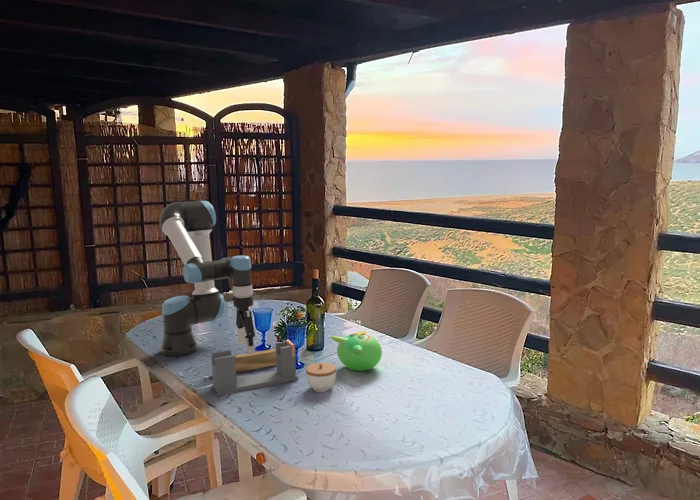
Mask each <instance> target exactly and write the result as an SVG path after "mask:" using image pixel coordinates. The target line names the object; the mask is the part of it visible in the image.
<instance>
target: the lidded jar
mask: <svg viewBox="0 0 700 500" xmlns="http://www.w3.org/2000/svg"><path fill="white" fill-rule="evenodd" d="M336 372H337V366H336V365H335V364H333V363H330V362H317V363H316V362H315V363H312V364H309V365H308V366H307V367H306V368H305V374H306V380H307V385H309V387H310V388H311V389H312V390H313V391H314V392H317V393H326V392H328V391H330V390H331V388H332V387H333V386H334V385H335V381H336V378H337V377H336V376H337V373H336Z"/></svg>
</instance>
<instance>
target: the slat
mask: <svg viewBox="0 0 700 500" xmlns="http://www.w3.org/2000/svg"><path fill="white" fill-rule="evenodd" d="M234 355H235V354H234ZM235 361H236V373H239V372H240V373H241V372H245V371H251V370H255V369H256V370H257V369H262V368H266V367H267V368H268V367H272V366H277V364H276V348H270V349H266V350H259V351H254V353H253V354H247V353H241V354H236V355H235Z"/></svg>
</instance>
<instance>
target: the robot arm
mask: <svg viewBox="0 0 700 500" xmlns="http://www.w3.org/2000/svg"><path fill="white" fill-rule="evenodd" d="M158 222H159V228H160V229H161V231H162V233H163V234H164V235H165V236H167V237H168V239H169V240H170V242H171V243H172V245H173V247H174V249H175V251H176V252H177V254H178V256H179V258H180V260H181V262H182V263H183V264H184V266H183V267H182V276H183V279H184V281H185V282H186V283H187V284H194V290H193V291H192V292H191V296H192V297H191V298H190V297H189V295H178V296H177V295H176V296H174V297H170V298H168V299H166V300H164V302H163V303H162V305H161V307H162V308H161V309H162V311H161V315H162V324H163V337H162V338H163V339H162V342H161V347H160V350H161V351H160V352H161V354H162V355H164V356H167V357H168V356H169V357H177V356H184V355H189V354H192V353H194V352H196V351H197V350H198V343H197V340H196V338H195V336H194V333H193V329H192V327H193V325H194V326H195V325H199V324H205V323H209V322H214V321H218V320H221V318H222V317H223V316H224V314H225V311H226V310H225V309H226V301H225V298H224V295H223V294H222V293H220V291H219V289H218V288H216V286H215V281H217V280H223V279H225V280H226V279H231V282H232V285H231V286H232V288H231V289H230V290H231V291H232V295H233V296H234V297H232V299H233V306H234V307H235V308H236V315H235V316H236V317H235V319H236V320H235V326H236V327H237V337H238V338H237V339H238V340H237V341H238V345H239V346H241V345H245V346H246V354H253V353H254V352H255V340H254V339H255V338H254V337H256V333H255V329H254V328H255V326H254V322H253V316H252V314H253V312H252V310H250V309H249V307H252V306H253V305H254V296H253V294H254V290H253V289H254V288H253V278H252V263H251V261H252V260H251V258H250V256H248V255H234V256H232V257H223V258H221V259H219V260H213V259H212V257H213V256H212V250H211V241H210V240H211V239H210V233H212V231H213V227H214V226H215V225H216V223H217V215H216V211H215V208H214V206H213V205H212V203H210V202H209V201H208V200H193V201H192V200H191V201H175V202H172V203H169V204H167V206H165V207H164V209H162V211H161V213H160V216H159V221H158Z"/></svg>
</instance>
